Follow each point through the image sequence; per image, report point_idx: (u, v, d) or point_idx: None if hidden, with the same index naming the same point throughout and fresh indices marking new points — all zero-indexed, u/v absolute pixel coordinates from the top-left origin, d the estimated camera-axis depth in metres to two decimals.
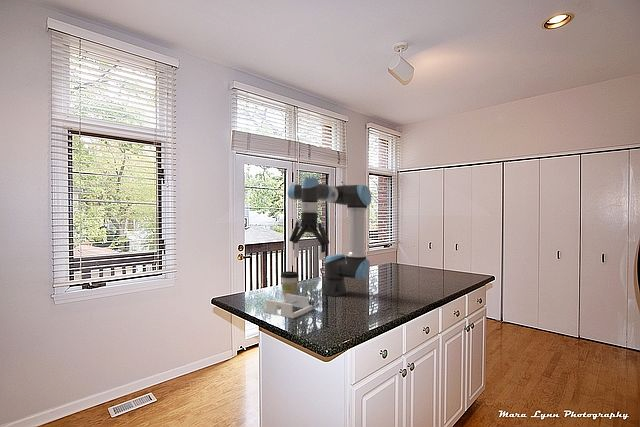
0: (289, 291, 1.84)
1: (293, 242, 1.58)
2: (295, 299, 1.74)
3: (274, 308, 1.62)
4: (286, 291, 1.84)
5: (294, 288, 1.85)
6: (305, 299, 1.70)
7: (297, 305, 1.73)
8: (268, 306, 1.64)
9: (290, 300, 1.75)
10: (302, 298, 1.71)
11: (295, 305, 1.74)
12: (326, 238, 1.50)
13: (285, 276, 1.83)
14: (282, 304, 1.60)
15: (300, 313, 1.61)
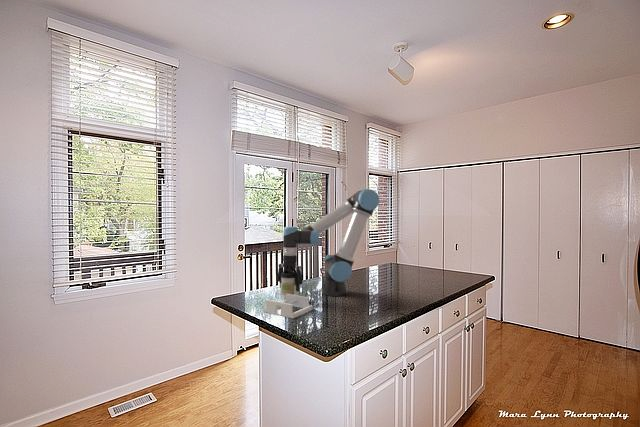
0: (289, 291, 1.84)
1: (280, 282, 1.89)
2: (295, 299, 1.74)
3: (274, 308, 1.62)
4: (286, 291, 1.84)
5: None
6: (305, 299, 1.70)
7: (297, 305, 1.73)
8: (268, 306, 1.64)
9: (290, 300, 1.75)
10: (302, 298, 1.71)
11: (295, 305, 1.74)
12: (300, 279, 1.83)
13: (285, 276, 1.83)
14: (282, 304, 1.60)
15: (300, 313, 1.61)
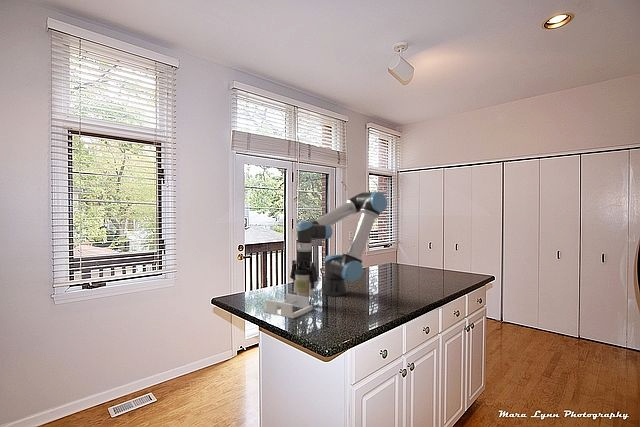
0: (303, 289, 1.75)
1: (293, 279, 1.81)
2: (295, 299, 1.74)
3: (274, 308, 1.62)
4: (301, 289, 1.75)
5: None
6: (305, 299, 1.70)
7: (297, 305, 1.73)
8: (268, 306, 1.64)
9: (290, 300, 1.75)
10: (302, 298, 1.71)
11: (295, 305, 1.74)
12: (315, 276, 1.75)
13: (299, 273, 1.74)
14: (282, 304, 1.60)
15: (300, 313, 1.61)
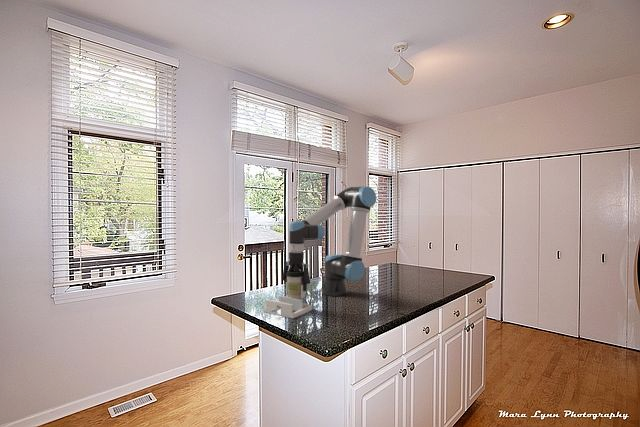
0: (295, 291, 1.69)
1: (285, 281, 1.75)
2: (289, 301, 1.69)
3: (274, 308, 1.62)
4: (292, 291, 1.69)
5: None
6: (299, 302, 1.66)
7: None
8: (268, 306, 1.64)
9: None
10: (296, 300, 1.67)
11: None
12: (308, 279, 1.69)
13: (291, 275, 1.68)
14: (282, 304, 1.60)
15: (300, 313, 1.61)
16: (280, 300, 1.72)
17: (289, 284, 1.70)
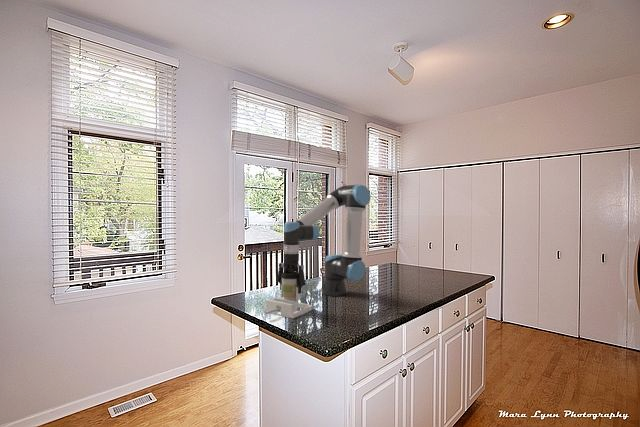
0: (290, 294, 1.65)
1: (280, 283, 1.71)
2: None
3: (274, 308, 1.62)
4: (287, 293, 1.65)
5: None
6: (294, 304, 1.62)
7: None
8: (268, 306, 1.64)
9: None
10: (291, 302, 1.63)
11: None
12: (303, 280, 1.65)
13: (286, 277, 1.65)
14: (282, 304, 1.60)
15: (300, 313, 1.61)
16: None
17: (284, 286, 1.66)
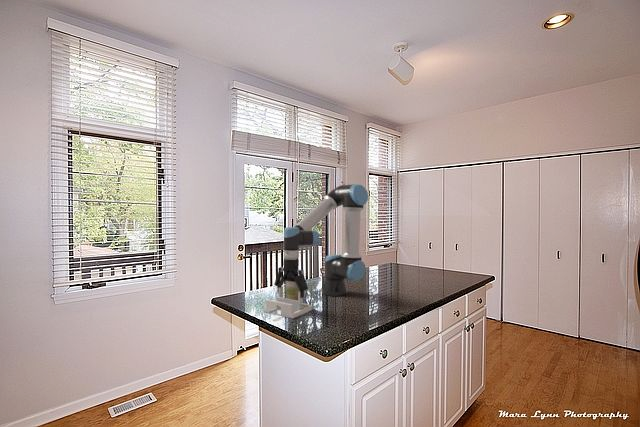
0: (293, 296, 1.67)
1: (277, 286, 1.72)
2: (286, 302, 1.67)
3: (274, 308, 1.62)
4: (290, 296, 1.67)
5: None
6: (296, 303, 1.64)
7: None
8: (268, 306, 1.64)
9: None
10: (293, 301, 1.65)
11: None
12: (305, 284, 1.64)
13: (289, 279, 1.67)
14: (282, 304, 1.60)
15: (300, 313, 1.61)
16: None
17: (287, 289, 1.68)
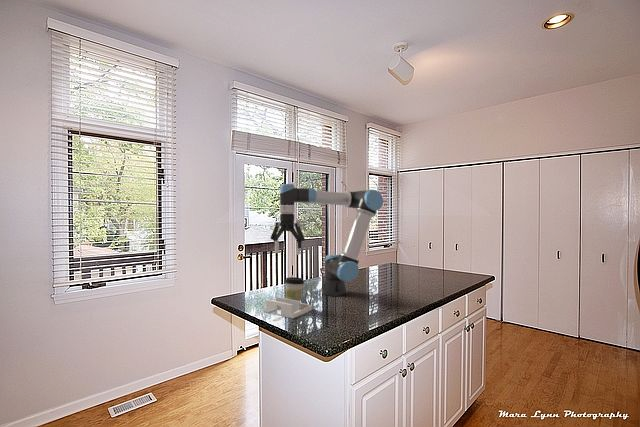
0: (293, 299, 1.67)
1: None
2: None
3: (274, 308, 1.62)
4: (290, 298, 1.67)
5: (299, 296, 1.68)
6: (296, 303, 1.64)
7: None
8: (268, 306, 1.64)
9: None
10: (293, 302, 1.65)
11: None
12: (302, 236, 1.75)
13: (290, 282, 1.67)
14: (282, 304, 1.60)
15: (300, 313, 1.61)
16: None
17: (287, 291, 1.68)
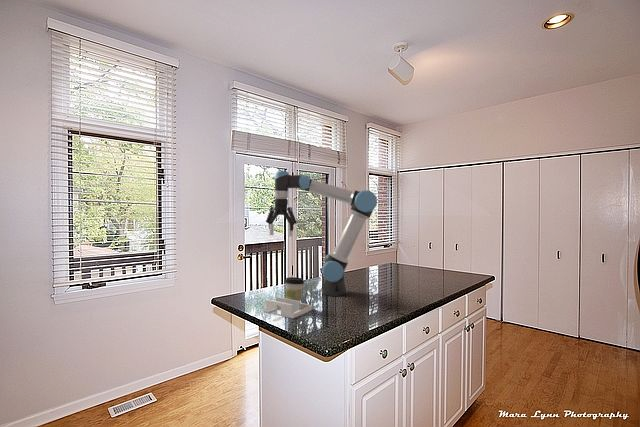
0: (293, 299, 1.67)
1: None
2: None
3: (274, 308, 1.62)
4: (290, 298, 1.67)
5: (299, 296, 1.68)
6: (296, 303, 1.64)
7: None
8: (268, 306, 1.64)
9: None
10: (293, 302, 1.65)
11: None
12: (294, 219, 1.89)
13: (290, 282, 1.67)
14: (282, 304, 1.60)
15: (300, 313, 1.61)
16: None
17: (287, 291, 1.68)
